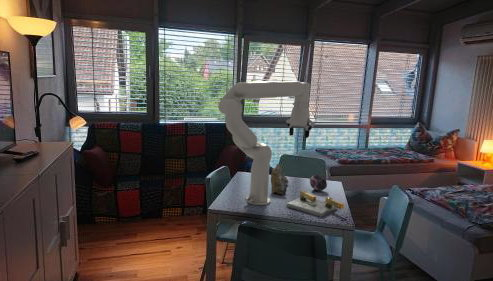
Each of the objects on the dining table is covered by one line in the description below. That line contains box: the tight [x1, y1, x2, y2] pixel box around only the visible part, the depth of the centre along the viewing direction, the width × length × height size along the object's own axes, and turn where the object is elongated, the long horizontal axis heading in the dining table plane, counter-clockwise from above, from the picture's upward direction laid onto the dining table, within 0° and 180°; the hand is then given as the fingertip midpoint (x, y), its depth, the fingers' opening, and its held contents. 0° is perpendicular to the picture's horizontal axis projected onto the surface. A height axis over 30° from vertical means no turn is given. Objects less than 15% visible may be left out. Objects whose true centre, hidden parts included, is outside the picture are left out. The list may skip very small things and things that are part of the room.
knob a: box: [299, 190, 317, 202], centre depth 177 cm, size 11×4×4 cm, turn 27°
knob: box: [324, 196, 345, 210], centre depth 168 cm, size 11×4×4 cm, turn 27°
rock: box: [270, 163, 289, 195], centre depth 203 cm, size 27×10×15 cm, turn 167°
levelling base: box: [286, 197, 338, 218], centre depth 173 cm, size 17×20×3 cm
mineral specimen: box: [309, 173, 328, 191], centre depth 204 cm, size 10×10×10 cm
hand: (298, 136), depth 184 cm, fingers open, 9 cm apart
